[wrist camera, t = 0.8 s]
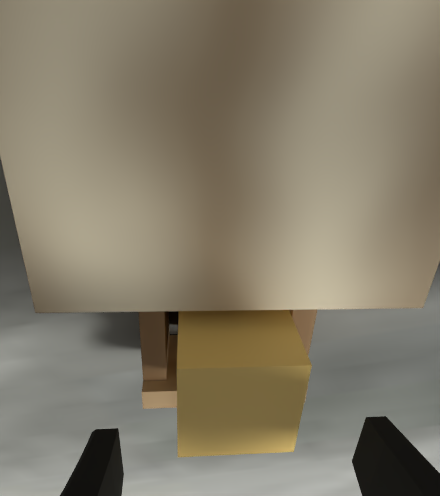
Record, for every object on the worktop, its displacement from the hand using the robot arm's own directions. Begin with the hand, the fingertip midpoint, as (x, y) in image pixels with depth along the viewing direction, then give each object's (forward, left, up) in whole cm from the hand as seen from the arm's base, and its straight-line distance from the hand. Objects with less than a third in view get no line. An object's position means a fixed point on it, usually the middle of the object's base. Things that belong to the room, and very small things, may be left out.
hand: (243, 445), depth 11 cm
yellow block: (0, 0, -8) cm, 8 cm away
